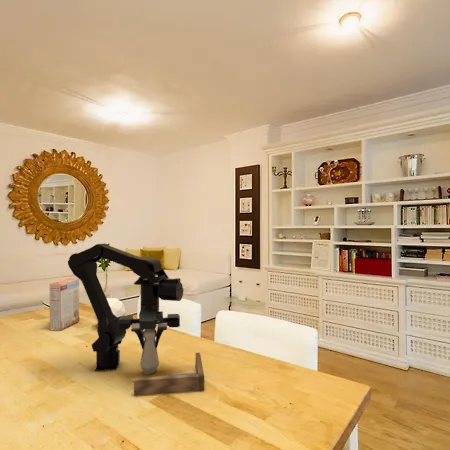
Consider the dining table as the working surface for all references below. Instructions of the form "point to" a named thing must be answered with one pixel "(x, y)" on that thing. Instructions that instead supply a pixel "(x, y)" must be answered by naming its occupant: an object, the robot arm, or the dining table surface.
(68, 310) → the cracker box
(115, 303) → the geodesic sphere
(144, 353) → the salt shaker
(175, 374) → the slate mat
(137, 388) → the corner walls
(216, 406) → the dining table surface
